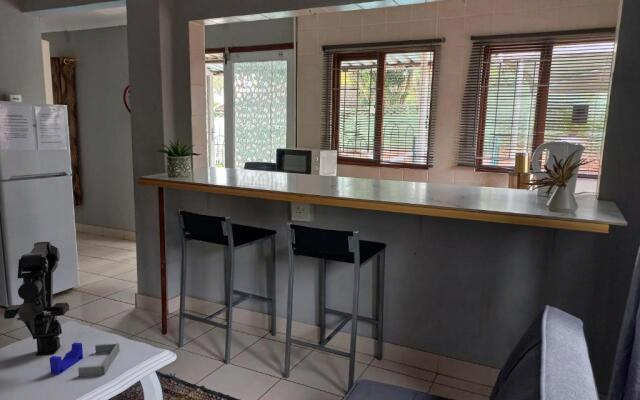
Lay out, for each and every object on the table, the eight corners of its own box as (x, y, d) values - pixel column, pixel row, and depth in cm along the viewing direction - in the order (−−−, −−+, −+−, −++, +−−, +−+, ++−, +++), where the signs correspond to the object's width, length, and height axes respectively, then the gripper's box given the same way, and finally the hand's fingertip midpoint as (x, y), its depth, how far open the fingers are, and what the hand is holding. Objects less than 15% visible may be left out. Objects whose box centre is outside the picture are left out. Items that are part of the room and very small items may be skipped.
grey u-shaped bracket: (78, 376, 153) (78, 368, 153) (96, 352, 171) (95, 344, 170) (104, 374, 154) (104, 366, 154) (119, 350, 172) (119, 343, 171)
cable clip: (72, 357, 167) (70, 342, 166) (83, 358, 166) (82, 343, 165) (47, 374, 155) (45, 357, 154) (58, 375, 154) (57, 358, 154)
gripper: (-8, 300, 147) (-4, 346, 149) (54, 297, 149) (58, 342, 152) (10, 288, 158) (14, 332, 160) (68, 286, 160) (71, 328, 162)
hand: (39, 334), depth 158 cm, fingers open, 4 cm apart
